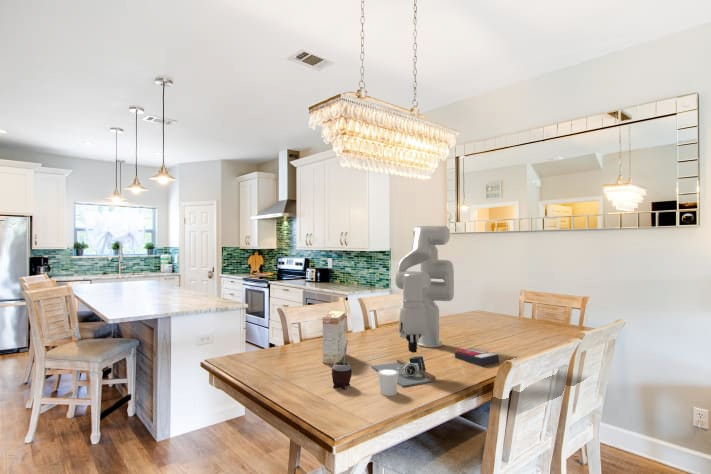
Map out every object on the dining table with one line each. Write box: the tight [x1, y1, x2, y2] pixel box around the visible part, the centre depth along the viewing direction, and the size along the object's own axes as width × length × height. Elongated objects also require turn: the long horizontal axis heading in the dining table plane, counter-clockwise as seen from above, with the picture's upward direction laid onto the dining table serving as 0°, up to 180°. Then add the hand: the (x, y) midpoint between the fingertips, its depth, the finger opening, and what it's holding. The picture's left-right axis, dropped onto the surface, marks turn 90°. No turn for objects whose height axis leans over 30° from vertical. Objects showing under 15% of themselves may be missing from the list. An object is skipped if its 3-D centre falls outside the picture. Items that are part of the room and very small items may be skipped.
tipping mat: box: [370, 358, 437, 388], centre depth 150 cm, size 24×14×2 cm, turn 25°
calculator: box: [454, 347, 500, 368], centre depth 169 cm, size 11×4×15 cm
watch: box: [398, 355, 427, 377], centre depth 150 cm, size 6×8×11 cm
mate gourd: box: [331, 339, 353, 391], centre depth 138 cm, size 8×8×15 cm
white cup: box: [377, 369, 398, 397], centre depth 132 cm, size 7×7×7 cm
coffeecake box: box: [322, 310, 346, 365], centre depth 171 cm, size 15×7×20 cm, turn 168°
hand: (412, 351), depth 153 cm, fingers closed
